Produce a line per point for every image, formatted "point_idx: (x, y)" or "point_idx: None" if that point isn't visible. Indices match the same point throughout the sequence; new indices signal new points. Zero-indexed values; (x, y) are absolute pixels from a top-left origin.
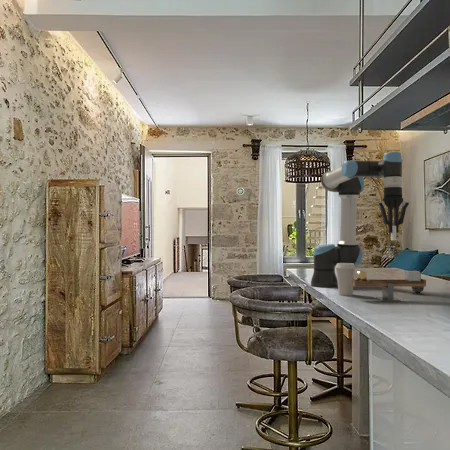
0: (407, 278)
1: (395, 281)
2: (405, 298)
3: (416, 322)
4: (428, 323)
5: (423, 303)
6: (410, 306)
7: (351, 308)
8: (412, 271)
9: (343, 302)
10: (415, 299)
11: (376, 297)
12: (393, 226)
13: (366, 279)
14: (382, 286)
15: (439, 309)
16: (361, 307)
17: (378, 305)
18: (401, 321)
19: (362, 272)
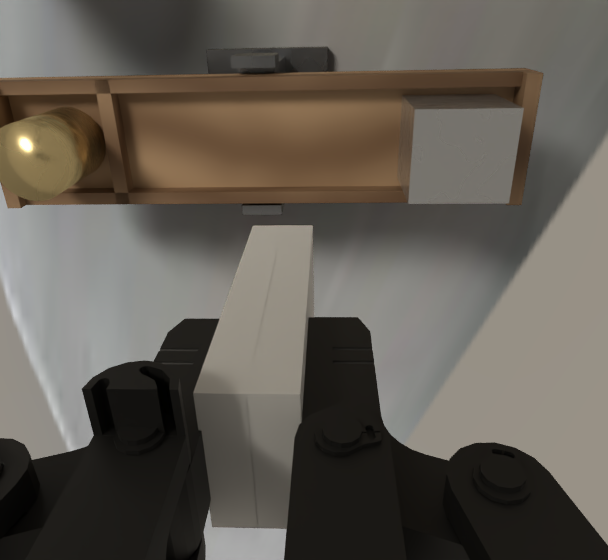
0: (402, 165)
1: (298, 202)
2: (410, 23)
3: (251, 548)
4: (281, 556)
5: (435, 216)
6: (331, 304)
7: (60, 361)
8: (456, 176)
9: (15, 210)
10: (459, 66)
11: (208, 70)
12: (237, 510)
13: (93, 166)
14: (238, 70)
15: (430, 365)
16: (103, 338)
17: (186, 286)
18: (210, 539)
19: (38, 199)
